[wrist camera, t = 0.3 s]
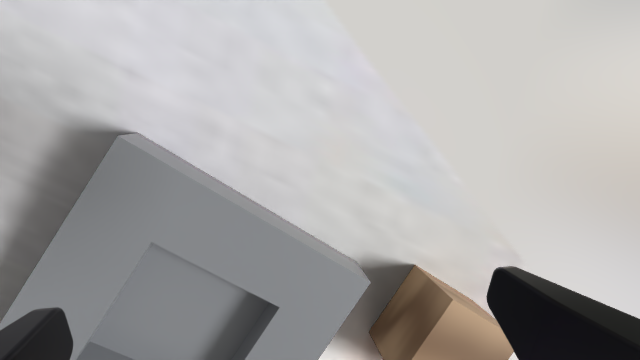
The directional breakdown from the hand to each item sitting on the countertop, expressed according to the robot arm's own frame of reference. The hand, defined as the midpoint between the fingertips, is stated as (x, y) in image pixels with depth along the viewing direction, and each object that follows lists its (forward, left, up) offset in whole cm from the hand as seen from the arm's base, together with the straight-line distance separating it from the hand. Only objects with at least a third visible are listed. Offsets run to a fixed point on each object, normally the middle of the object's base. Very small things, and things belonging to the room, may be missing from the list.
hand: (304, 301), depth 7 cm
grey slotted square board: (-10, 0, -15) cm, 18 cm away
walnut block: (-3, -15, -15) cm, 21 cm away
